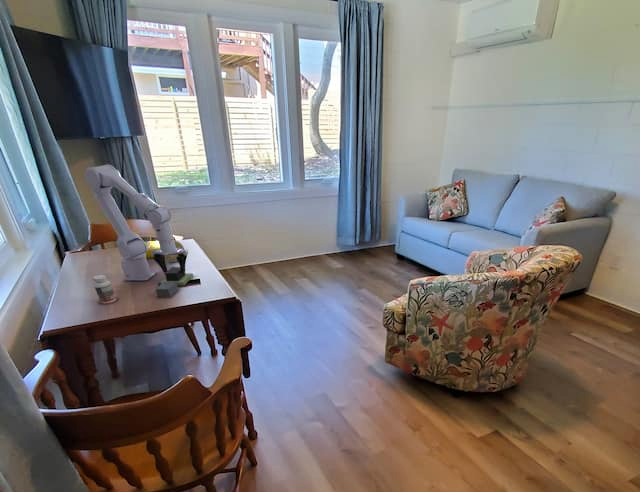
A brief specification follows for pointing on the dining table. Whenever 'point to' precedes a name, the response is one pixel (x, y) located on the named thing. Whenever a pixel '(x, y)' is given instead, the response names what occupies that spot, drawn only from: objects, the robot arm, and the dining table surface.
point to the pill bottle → (104, 289)
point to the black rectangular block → (174, 274)
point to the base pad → (182, 280)
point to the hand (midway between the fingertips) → (174, 271)
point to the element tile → (151, 248)
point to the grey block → (167, 289)
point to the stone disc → (173, 257)
